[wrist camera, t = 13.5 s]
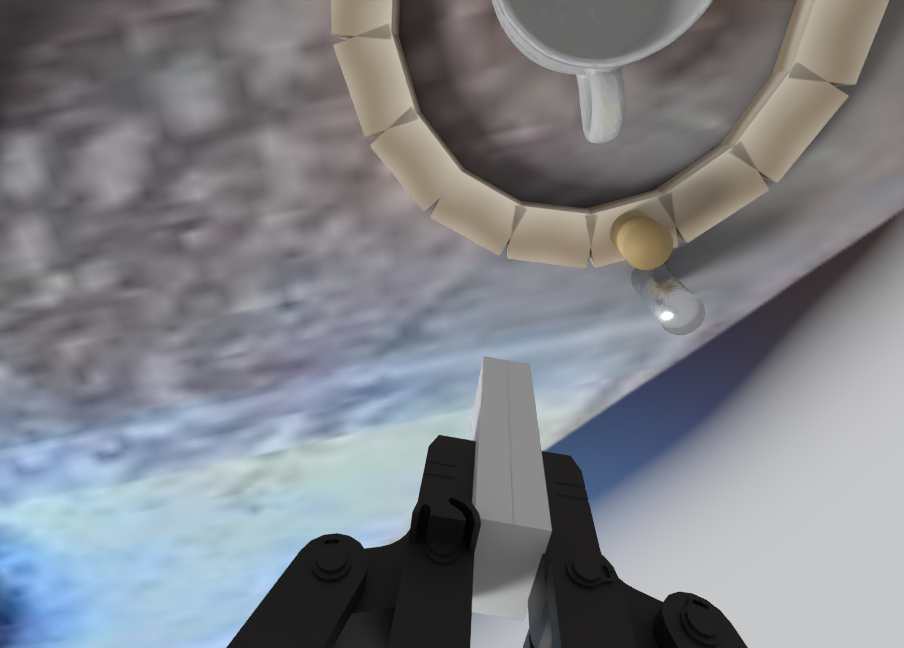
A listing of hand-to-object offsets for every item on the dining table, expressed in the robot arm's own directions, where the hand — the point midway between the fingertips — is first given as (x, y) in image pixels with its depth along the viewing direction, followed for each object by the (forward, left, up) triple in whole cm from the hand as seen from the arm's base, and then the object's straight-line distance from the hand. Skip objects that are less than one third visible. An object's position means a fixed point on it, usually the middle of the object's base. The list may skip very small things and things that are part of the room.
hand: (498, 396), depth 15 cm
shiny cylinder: (+10, 0, -20) cm, 22 cm away
